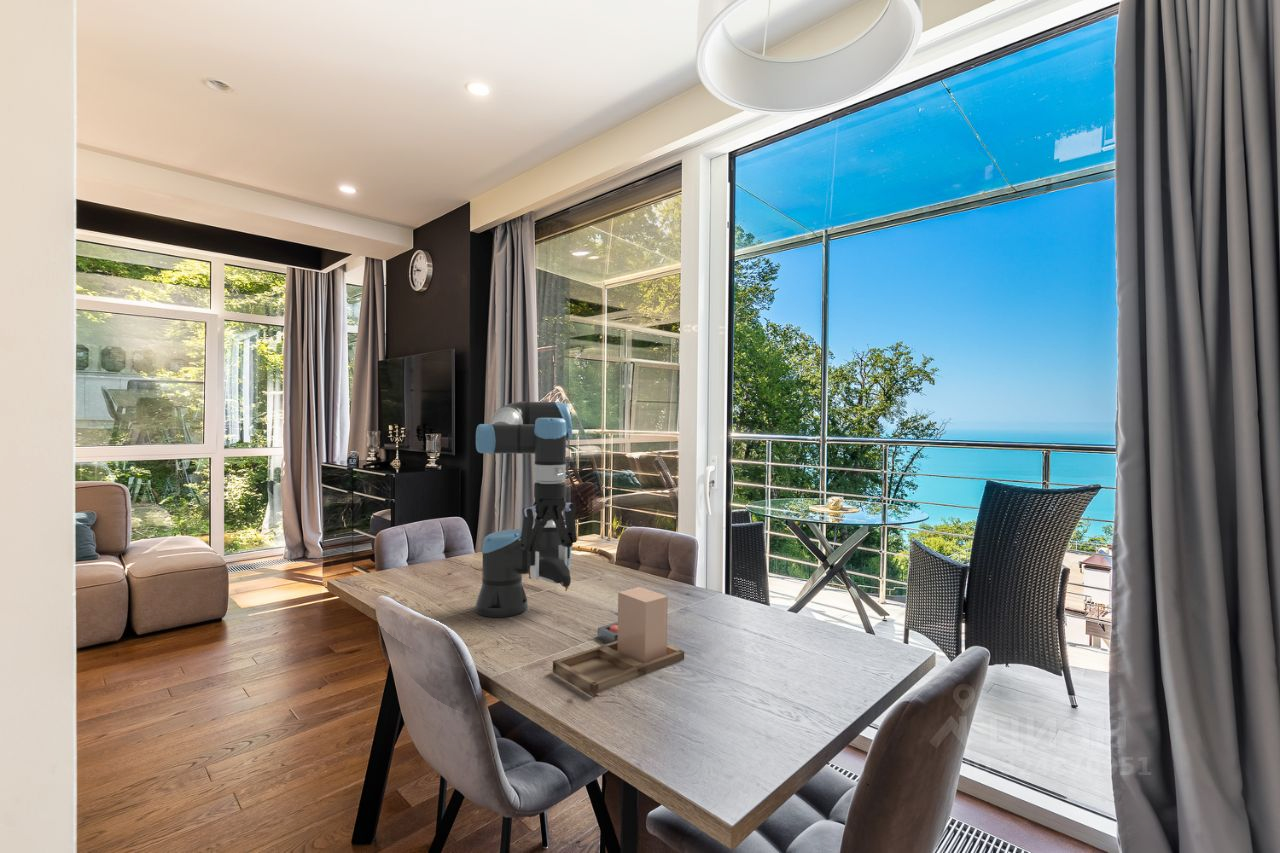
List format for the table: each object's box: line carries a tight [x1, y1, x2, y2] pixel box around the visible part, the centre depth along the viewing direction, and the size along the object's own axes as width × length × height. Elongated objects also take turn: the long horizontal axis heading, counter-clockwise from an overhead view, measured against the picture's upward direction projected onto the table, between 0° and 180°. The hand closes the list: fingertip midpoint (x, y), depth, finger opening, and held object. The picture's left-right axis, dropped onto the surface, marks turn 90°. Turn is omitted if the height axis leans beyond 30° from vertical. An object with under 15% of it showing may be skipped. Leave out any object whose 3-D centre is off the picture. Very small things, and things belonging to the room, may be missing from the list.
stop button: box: [610, 625, 618, 633], centre depth 151 cm, size 4×4×3 cm
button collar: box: [597, 621, 618, 643], centre depth 151 cm, size 7×7×3 cm
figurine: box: [528, 549, 572, 592], centre depth 140 cm, size 7×10×15 cm
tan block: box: [617, 586, 669, 664], centre depth 139 cm, size 10×7×15 cm
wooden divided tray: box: [552, 641, 685, 698], centre depth 135 cm, size 15×27×3 cm, turn 132°
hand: (548, 575), depth 141 cm, fingers closed on figurine, 7 cm apart
